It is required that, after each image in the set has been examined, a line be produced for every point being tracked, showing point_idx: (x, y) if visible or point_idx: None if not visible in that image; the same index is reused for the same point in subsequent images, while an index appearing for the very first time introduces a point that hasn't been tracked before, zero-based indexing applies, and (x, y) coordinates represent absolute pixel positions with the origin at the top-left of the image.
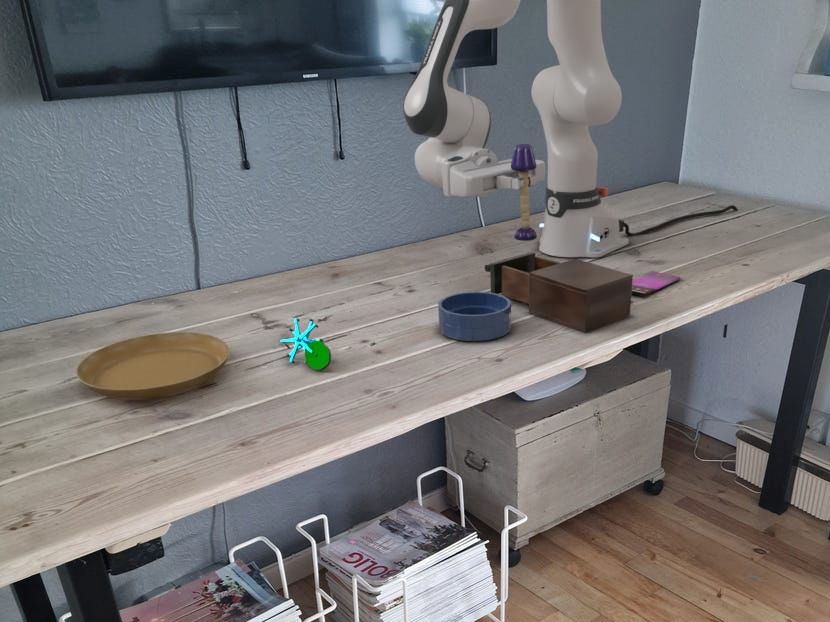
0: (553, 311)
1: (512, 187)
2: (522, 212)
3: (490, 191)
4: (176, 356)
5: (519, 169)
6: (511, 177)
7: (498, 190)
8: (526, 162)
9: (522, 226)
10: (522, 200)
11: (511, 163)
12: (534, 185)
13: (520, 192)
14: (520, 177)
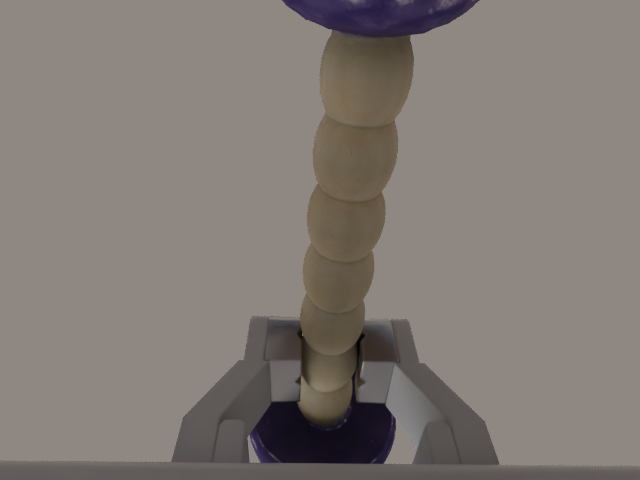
0: None
1: (244, 357)
2: (318, 182)
3: (80, 463)
4: None
5: None
6: (258, 416)
7: (191, 463)
8: None
9: (324, 53)
10: (306, 259)
11: None
12: (402, 319)
13: (303, 313)
14: (302, 380)
